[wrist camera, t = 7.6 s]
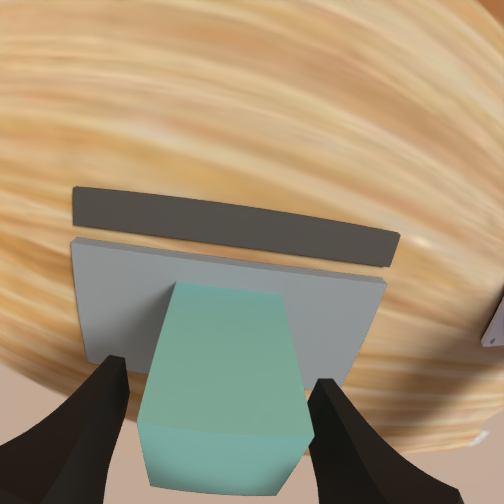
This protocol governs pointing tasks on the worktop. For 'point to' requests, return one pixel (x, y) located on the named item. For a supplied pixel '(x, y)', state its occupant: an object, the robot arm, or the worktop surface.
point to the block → (224, 395)
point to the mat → (225, 276)
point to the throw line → (232, 225)
